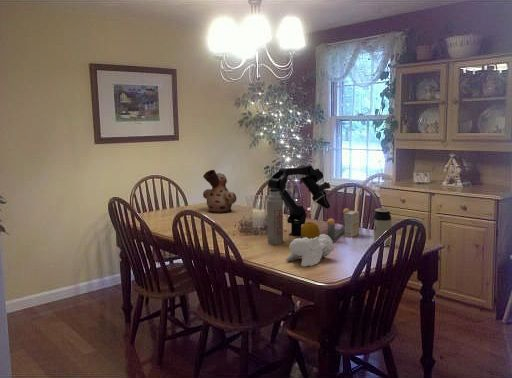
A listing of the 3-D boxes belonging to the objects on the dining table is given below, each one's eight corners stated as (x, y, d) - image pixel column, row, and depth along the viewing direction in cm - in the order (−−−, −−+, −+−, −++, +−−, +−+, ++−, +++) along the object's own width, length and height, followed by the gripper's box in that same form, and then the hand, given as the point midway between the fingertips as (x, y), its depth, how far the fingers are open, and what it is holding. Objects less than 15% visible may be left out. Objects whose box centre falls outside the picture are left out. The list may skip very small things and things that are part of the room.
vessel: (243, 210, 341) (242, 168, 337) (225, 216, 323) (223, 171, 318) (210, 207, 356) (209, 166, 352) (191, 212, 338) (189, 170, 334)
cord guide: (333, 242, 251) (333, 219, 250) (326, 241, 253) (326, 218, 251) (350, 228, 282) (351, 207, 280) (344, 227, 283) (344, 207, 282)
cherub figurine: (337, 237, 219) (303, 240, 207) (334, 264, 220) (301, 268, 208) (317, 231, 229) (284, 233, 218) (315, 257, 231) (282, 260, 219)
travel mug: (390, 243, 247) (391, 208, 245) (390, 247, 240) (391, 211, 237) (374, 242, 249) (374, 207, 247) (373, 246, 242) (374, 210, 239)
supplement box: (351, 233, 269) (351, 210, 267) (359, 234, 266) (359, 211, 264) (344, 236, 263) (344, 212, 261) (352, 237, 260) (352, 213, 258)
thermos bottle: (285, 243, 251) (284, 189, 247) (270, 244, 249) (269, 190, 245) (280, 239, 258) (279, 187, 254) (265, 241, 256) (264, 188, 252)
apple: (297, 243, 251) (297, 220, 250) (314, 241, 255) (314, 219, 253) (305, 247, 242) (305, 224, 241) (323, 245, 246) (323, 222, 244)
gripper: (321, 177, 262) (339, 200, 260) (325, 176, 280) (341, 198, 278) (304, 189, 264) (322, 212, 262) (309, 188, 283) (326, 209, 281)
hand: (328, 207), depth 271 cm, fingers open, 9 cm apart
